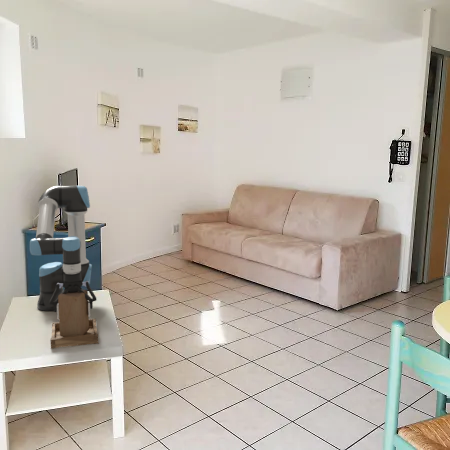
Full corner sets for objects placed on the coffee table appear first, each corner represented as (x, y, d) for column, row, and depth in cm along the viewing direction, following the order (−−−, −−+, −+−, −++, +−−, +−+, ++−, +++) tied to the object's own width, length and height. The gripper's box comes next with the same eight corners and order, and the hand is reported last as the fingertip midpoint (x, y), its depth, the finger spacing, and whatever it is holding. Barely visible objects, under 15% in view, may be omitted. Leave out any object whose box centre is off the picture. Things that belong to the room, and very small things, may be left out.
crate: (52, 330, 225) (51, 322, 224) (96, 326, 231) (95, 318, 230) (50, 348, 206) (50, 339, 205) (98, 343, 212) (98, 335, 211)
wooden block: (79, 339, 212) (78, 296, 209) (59, 337, 214) (57, 294, 210) (89, 330, 222) (88, 289, 218) (70, 328, 224) (68, 287, 220)
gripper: (42, 276, 205) (44, 322, 209) (101, 272, 213) (102, 317, 217) (43, 271, 212) (45, 316, 216) (100, 267, 220) (101, 311, 224)
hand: (74, 317), depth 217 cm, fingers open, 13 cm apart
